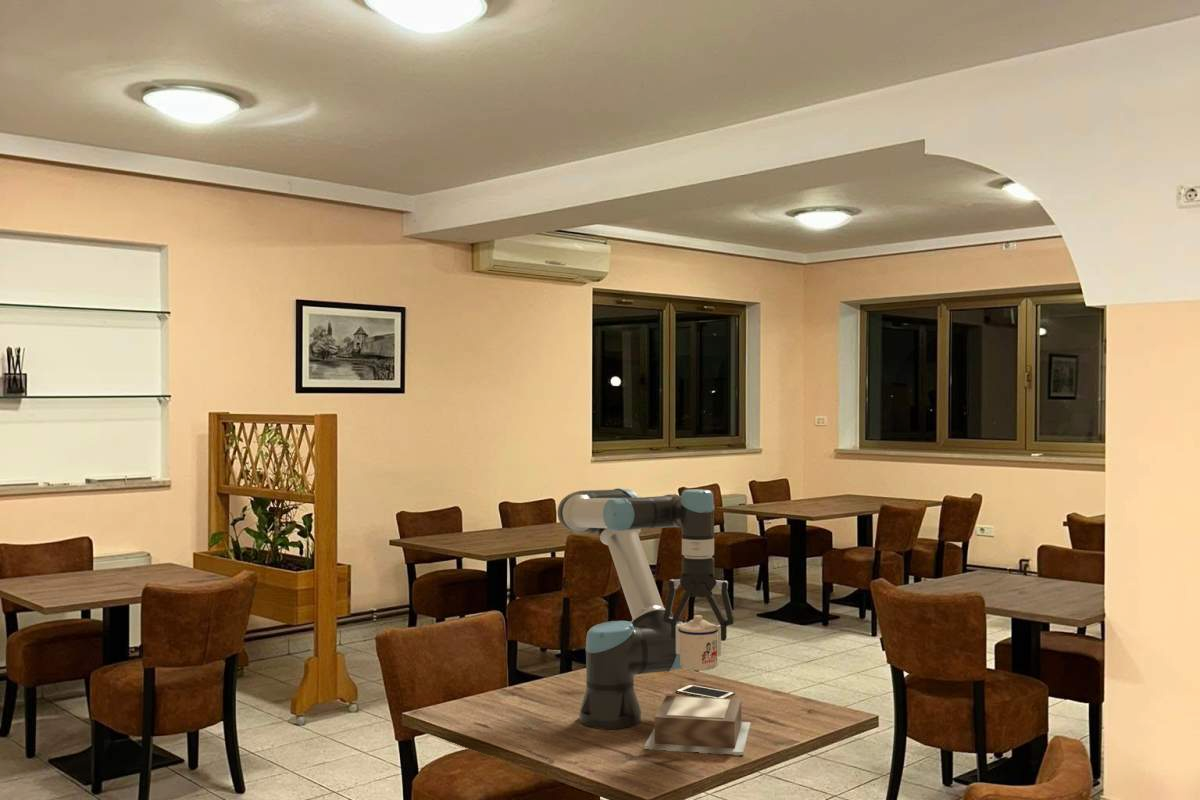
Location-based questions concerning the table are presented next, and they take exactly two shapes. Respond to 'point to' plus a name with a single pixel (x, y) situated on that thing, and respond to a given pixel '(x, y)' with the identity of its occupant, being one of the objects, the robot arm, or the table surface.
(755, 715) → the table surface
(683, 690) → the cell phone
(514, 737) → the table surface
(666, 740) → the plinth
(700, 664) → the teacup with lid
